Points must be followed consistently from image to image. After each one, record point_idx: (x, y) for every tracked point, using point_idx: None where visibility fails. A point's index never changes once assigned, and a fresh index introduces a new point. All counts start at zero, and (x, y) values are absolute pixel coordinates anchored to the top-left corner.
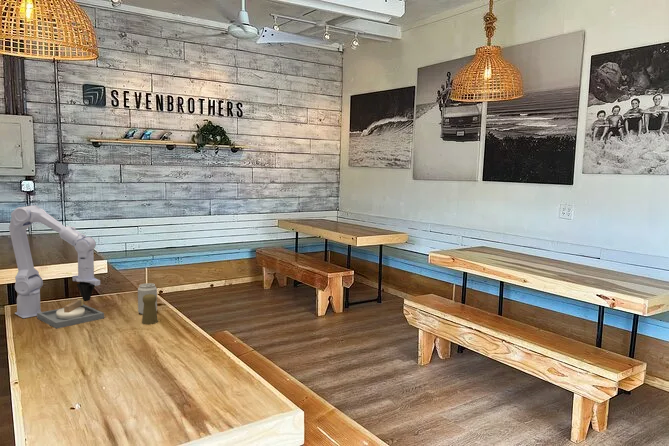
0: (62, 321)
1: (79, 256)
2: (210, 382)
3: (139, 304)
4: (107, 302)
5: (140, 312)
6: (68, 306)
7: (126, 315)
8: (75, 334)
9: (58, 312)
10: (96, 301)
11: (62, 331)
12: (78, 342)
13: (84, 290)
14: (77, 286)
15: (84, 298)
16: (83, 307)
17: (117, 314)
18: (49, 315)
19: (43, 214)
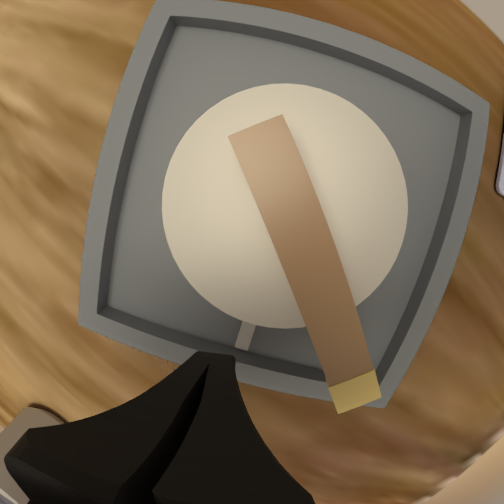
0: (143, 32)
1: None
2: None
3: (23, 433)
4: (340, 487)
5: (39, 410)
6: (229, 136)
7: (68, 385)
8: (28, 49)
9: (324, 102)
10: (400, 471)
11: (103, 20)
12: None
13: (105, 417)
14: (290, 484)
15: (190, 361)
16: None
17: (110, 389)
18: (432, 141)
19: None
